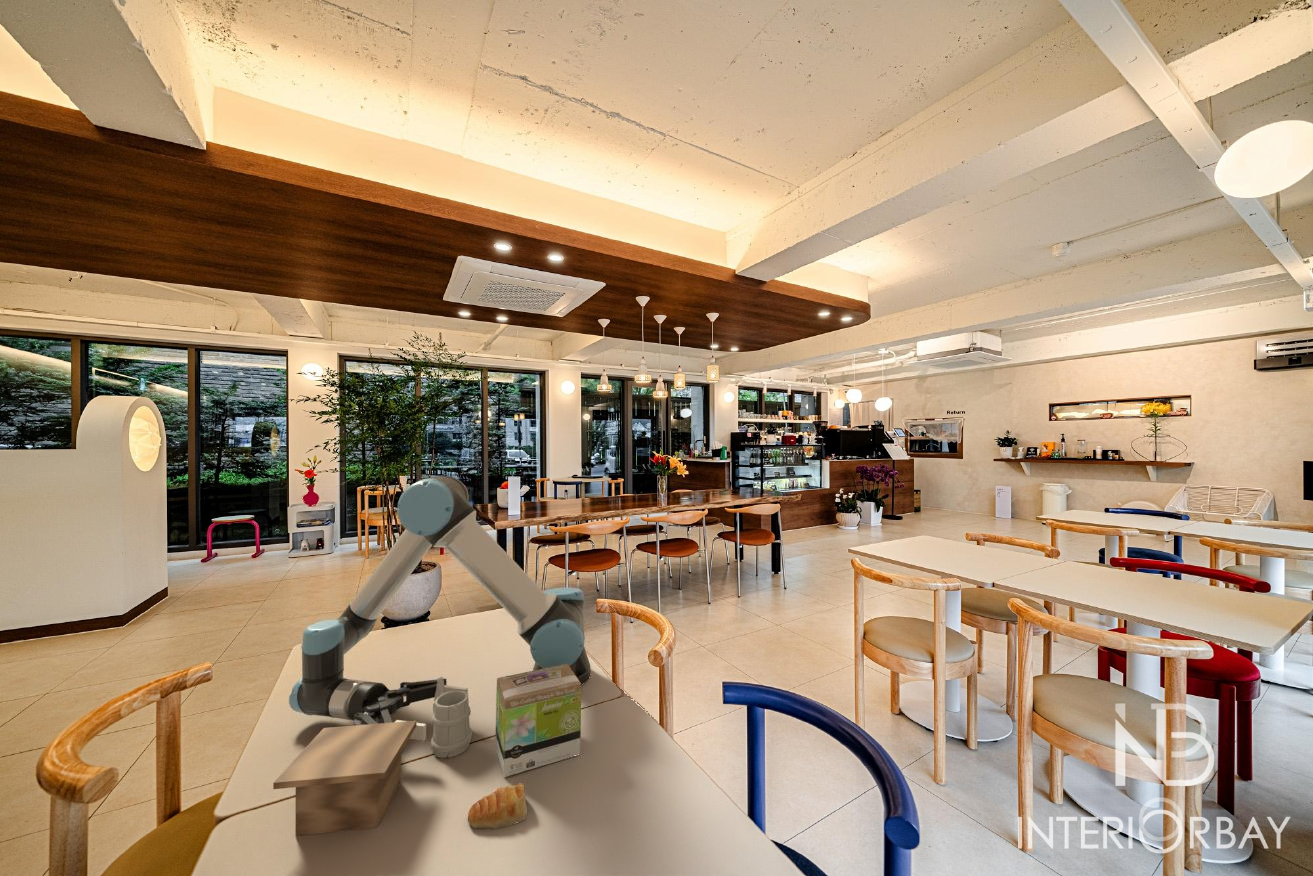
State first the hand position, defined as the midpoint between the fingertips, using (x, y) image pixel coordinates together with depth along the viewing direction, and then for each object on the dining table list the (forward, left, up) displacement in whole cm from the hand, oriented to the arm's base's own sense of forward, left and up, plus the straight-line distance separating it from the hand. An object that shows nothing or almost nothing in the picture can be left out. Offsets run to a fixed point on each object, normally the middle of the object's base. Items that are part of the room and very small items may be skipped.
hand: (447, 712), depth 98 cm
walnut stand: (+11, +16, -6) cm, 20 cm away
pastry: (-15, +21, -7) cm, 27 cm away
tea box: (-19, +6, -7) cm, 21 cm away
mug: (0, 0, -7) cm, 7 cm away
